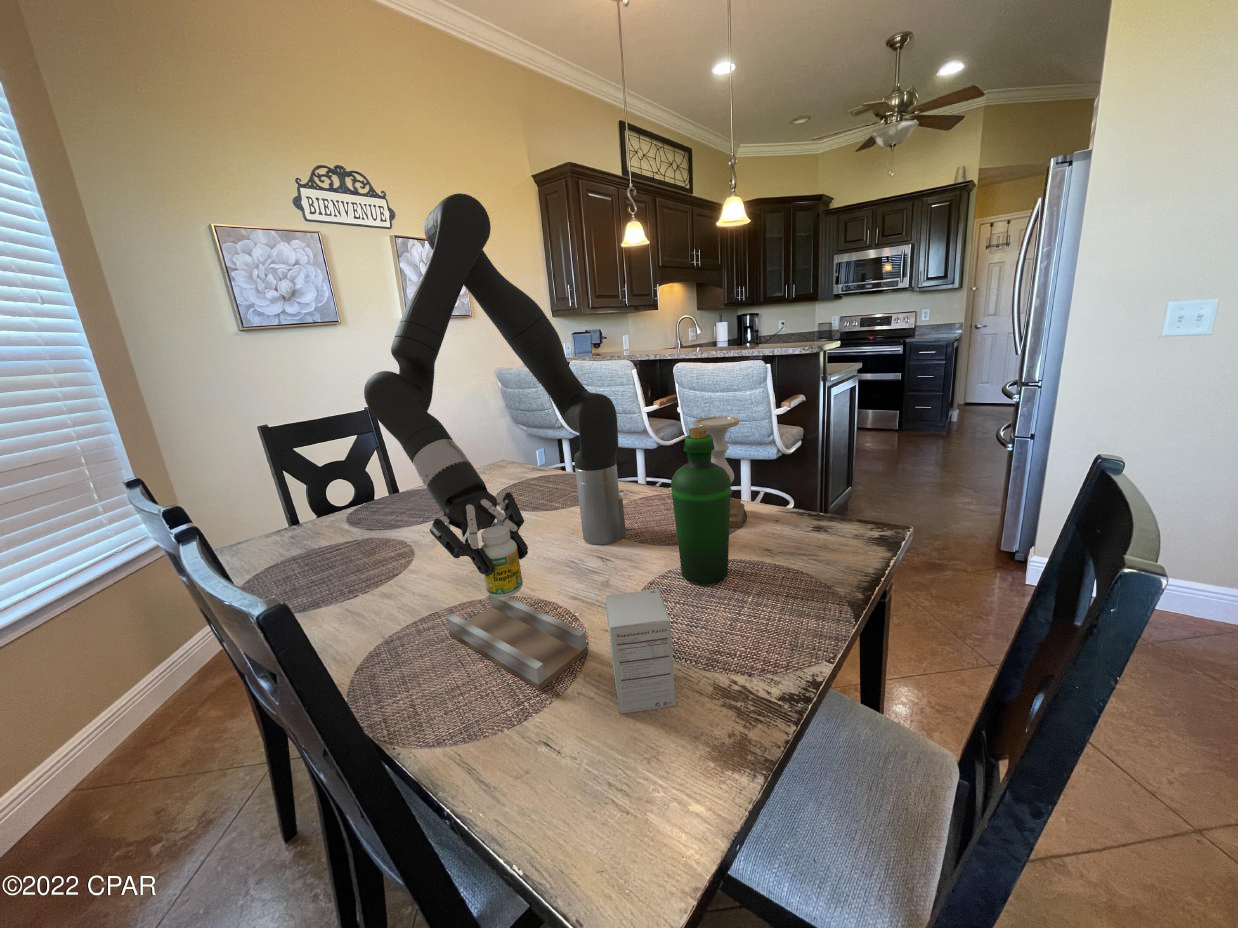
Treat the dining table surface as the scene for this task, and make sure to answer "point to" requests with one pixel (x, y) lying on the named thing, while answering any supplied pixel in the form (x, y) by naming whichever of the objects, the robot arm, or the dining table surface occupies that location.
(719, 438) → the candle holder
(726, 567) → the bottle
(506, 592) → the supplement bottle
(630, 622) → the supplement box
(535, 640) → the walnut track
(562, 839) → the dining table surface
